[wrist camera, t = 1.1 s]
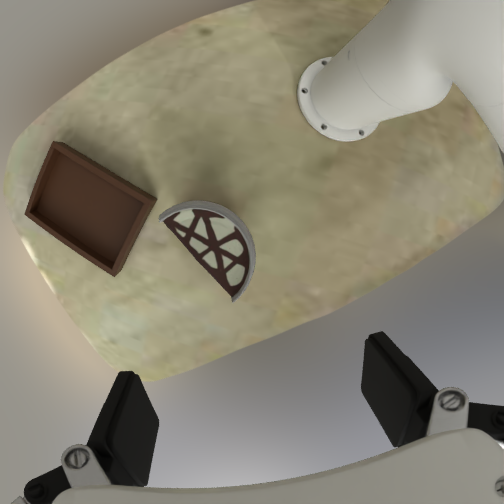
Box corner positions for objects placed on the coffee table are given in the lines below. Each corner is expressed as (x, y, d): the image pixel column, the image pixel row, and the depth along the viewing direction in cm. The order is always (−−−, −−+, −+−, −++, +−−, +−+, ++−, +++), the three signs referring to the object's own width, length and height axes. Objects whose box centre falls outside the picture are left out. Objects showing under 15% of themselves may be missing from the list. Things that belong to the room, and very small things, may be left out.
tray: (62, 142, 33) (53, 140, 30) (157, 199, 37) (152, 201, 34) (34, 211, 35) (24, 214, 32) (121, 270, 39) (114, 277, 36)
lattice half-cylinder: (268, 246, 39) (282, 270, 30) (233, 275, 40) (236, 306, 30) (208, 175, 36) (202, 175, 27) (173, 206, 37) (155, 217, 27)
